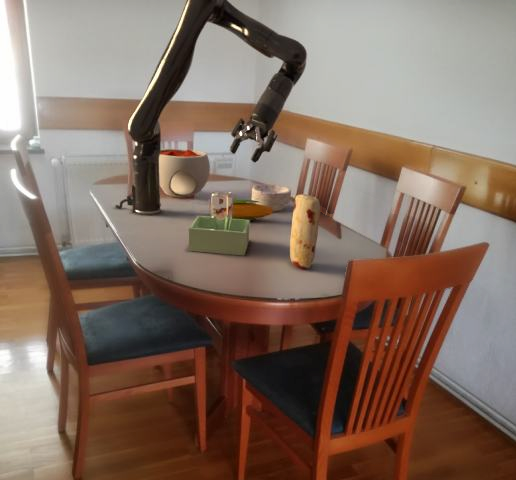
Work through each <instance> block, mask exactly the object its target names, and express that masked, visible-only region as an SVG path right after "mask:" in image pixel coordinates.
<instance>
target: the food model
mask: <svg viewBox="0 0 516 480" xmlns="http://www.w3.org/2000/svg"><path fill="white" fill-rule="evenodd" d="M320 217H321V204H320V199H318V198H317V197H316V196H311V195H309V194H307V193H305V194H297V195H296V196H295V198H294V205H293V212H292V221H291V231H290V242H289V257H290V261H291V264H292V265H293V266H294V267H296V268H298V269H300V270H306V269H307V270H308V269H310V268H311V265H312V264H313V262H314V260H315V256H316V255H315V254H316V248H317V240H318V235H319V234H318V233H319V224H320Z"/></svg>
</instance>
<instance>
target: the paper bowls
mask: <svg viewBox="0 0 516 480" xmlns="http://www.w3.org/2000/svg"><path fill="white" fill-rule="evenodd" d="M291 195H292V190H291V189H290V188H289V187H287V186H284V185H279V184H278V185H277V184H257V185H253V187H251V200H254V201H259V202H253V203H254V204H259V205H264V206H268V207H269V208H270V209H272V210H273V212H280V211H282V210H283V209H285V206H286V205H289V204H290V203H291V198H292V196H291Z"/></svg>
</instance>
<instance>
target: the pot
mask: <svg viewBox="0 0 516 480" xmlns="http://www.w3.org/2000/svg"><path fill="white" fill-rule="evenodd" d="M209 159H210V158H209V156H208V154H207V153H205V152H204V151H200V150H194V149H189V148H188V149H186V148H185V149H184V148H161V152H160V156H159V178H160V189H162V191H163V192H164V194H166V195H167V196H169V197H171V198H176V199H177V198H178V199H186V198H191V197H193V196H195V195H197V194H198V193H200V191H202V190H203V188H204V187H205V186H206V184H207V183H208V181H209V177H210V172H211V164H210V160H209Z"/></svg>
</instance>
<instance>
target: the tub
mask: <svg viewBox="0 0 516 480" xmlns="http://www.w3.org/2000/svg"><path fill="white" fill-rule="evenodd" d="M250 224H251V221H250V220H243V219H232V221H231V225H230V231H225V230H213V229H212V224H211V217H210V216H206V215H197V216H196V217H195V219H193V221H192V223H191V225H190V226H189V227H188V251H189V252H199V253H211V254H223V255H234V256H235V255H236V256H245V255H246V252H247V249H248V245H249V242H250Z"/></svg>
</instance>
